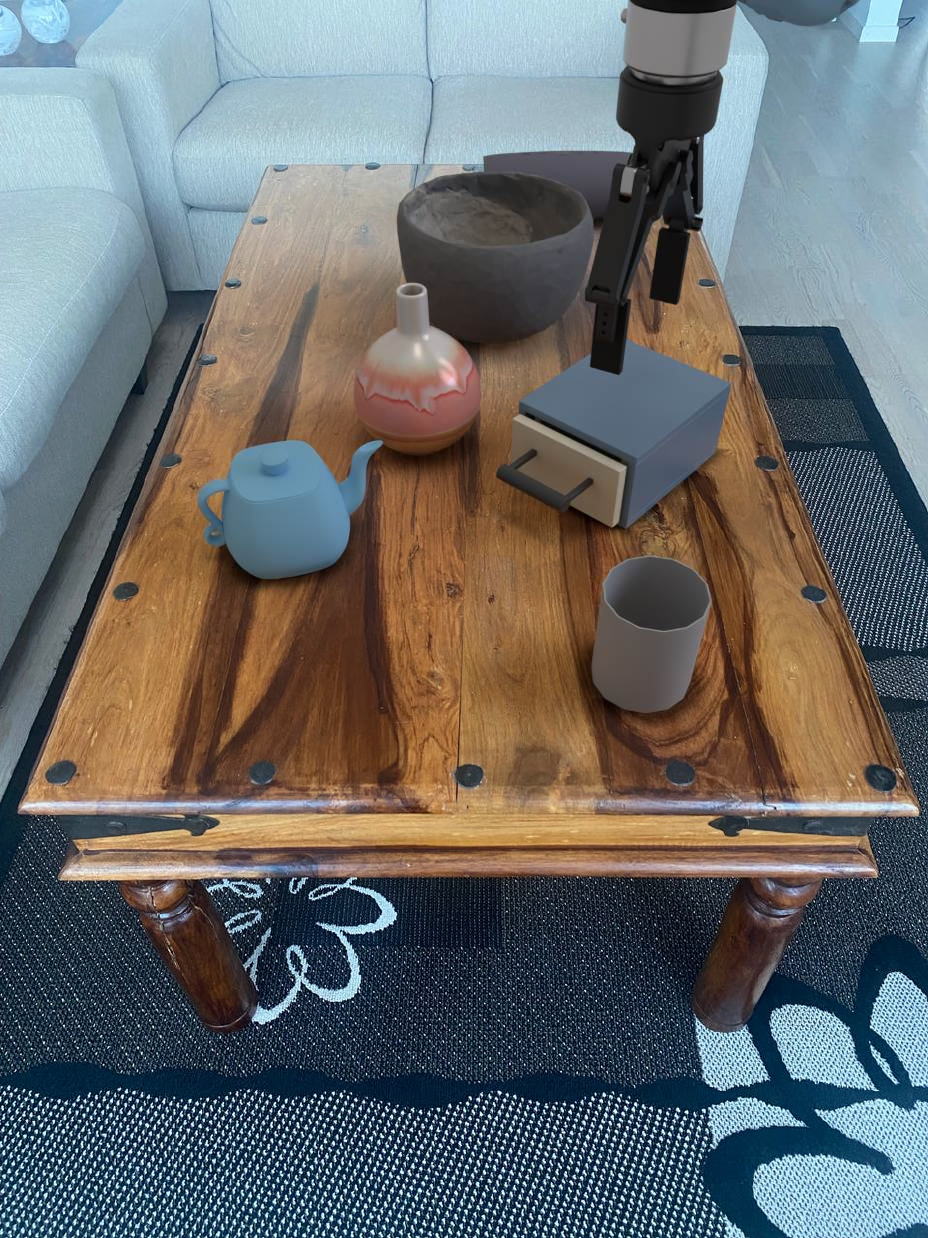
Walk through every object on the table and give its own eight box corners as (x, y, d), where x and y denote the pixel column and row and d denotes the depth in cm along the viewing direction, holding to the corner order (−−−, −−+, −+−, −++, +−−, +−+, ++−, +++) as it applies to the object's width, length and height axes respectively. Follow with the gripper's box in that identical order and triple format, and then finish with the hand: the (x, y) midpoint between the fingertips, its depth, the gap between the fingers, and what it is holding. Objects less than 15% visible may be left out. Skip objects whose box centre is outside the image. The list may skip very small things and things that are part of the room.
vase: (342, 421, 105) (322, 273, 92) (451, 392, 109) (447, 247, 96) (384, 489, 97) (369, 337, 84) (501, 456, 100) (504, 305, 88)
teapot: (397, 475, 81) (190, 514, 78) (404, 564, 89) (216, 602, 86) (367, 398, 89) (179, 430, 86) (376, 485, 97) (204, 517, 94)
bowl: (449, 263, 132) (446, 152, 121) (611, 296, 124) (624, 182, 113) (365, 345, 117) (353, 227, 106) (544, 388, 109) (551, 267, 98)
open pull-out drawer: (578, 556, 88) (584, 500, 83) (476, 498, 94) (476, 442, 89) (698, 455, 98) (709, 400, 93) (599, 409, 105) (605, 355, 100)
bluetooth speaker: (484, 236, 137) (484, 166, 130) (482, 209, 144) (482, 141, 136) (636, 233, 137) (644, 163, 130) (628, 207, 144) (636, 138, 136)
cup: (696, 713, 76) (719, 632, 69) (596, 713, 76) (608, 632, 69) (681, 637, 82) (700, 555, 75) (588, 637, 82) (599, 555, 75)
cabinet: (625, 529, 92) (636, 458, 86) (516, 471, 99) (518, 400, 92) (715, 452, 100) (731, 382, 94) (609, 403, 107) (617, 335, 101)
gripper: (683, 18, 76) (649, 266, 91) (551, 113, 61) (536, 389, 77) (773, 30, 73) (722, 283, 89) (657, 132, 58) (620, 414, 74)
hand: (636, 333), depth 83 cm, fingers open, 13 cm apart
